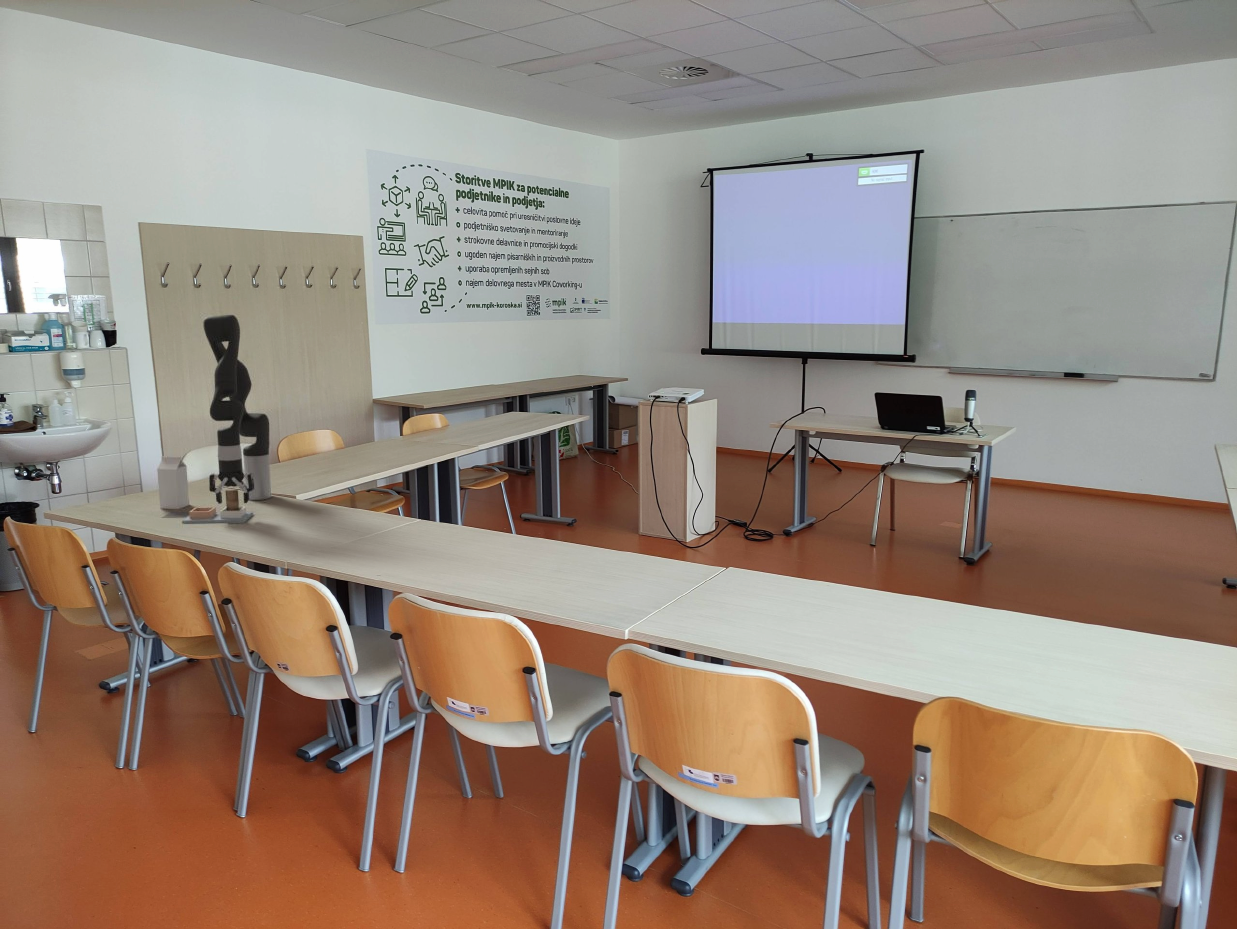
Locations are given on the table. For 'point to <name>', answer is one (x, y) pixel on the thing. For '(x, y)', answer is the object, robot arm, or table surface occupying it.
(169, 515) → the feeder mat
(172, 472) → the milk carton
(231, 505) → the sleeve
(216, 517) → the double pet bowl
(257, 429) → the robot arm
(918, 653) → the table surface
